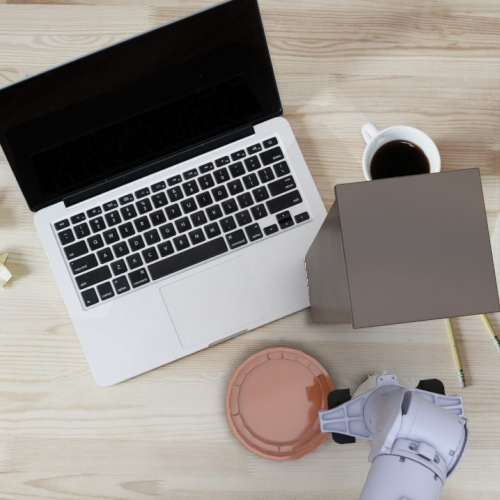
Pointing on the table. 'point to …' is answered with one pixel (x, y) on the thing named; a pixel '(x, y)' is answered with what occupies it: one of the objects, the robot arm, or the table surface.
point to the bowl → (278, 403)
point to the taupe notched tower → (403, 252)
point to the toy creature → (367, 385)
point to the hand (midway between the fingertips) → (378, 404)
